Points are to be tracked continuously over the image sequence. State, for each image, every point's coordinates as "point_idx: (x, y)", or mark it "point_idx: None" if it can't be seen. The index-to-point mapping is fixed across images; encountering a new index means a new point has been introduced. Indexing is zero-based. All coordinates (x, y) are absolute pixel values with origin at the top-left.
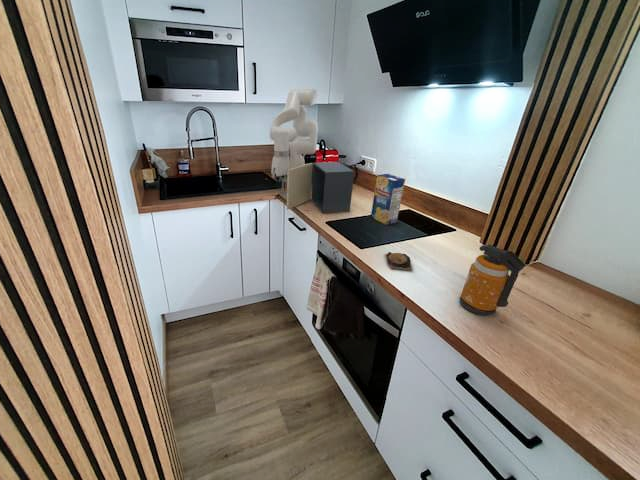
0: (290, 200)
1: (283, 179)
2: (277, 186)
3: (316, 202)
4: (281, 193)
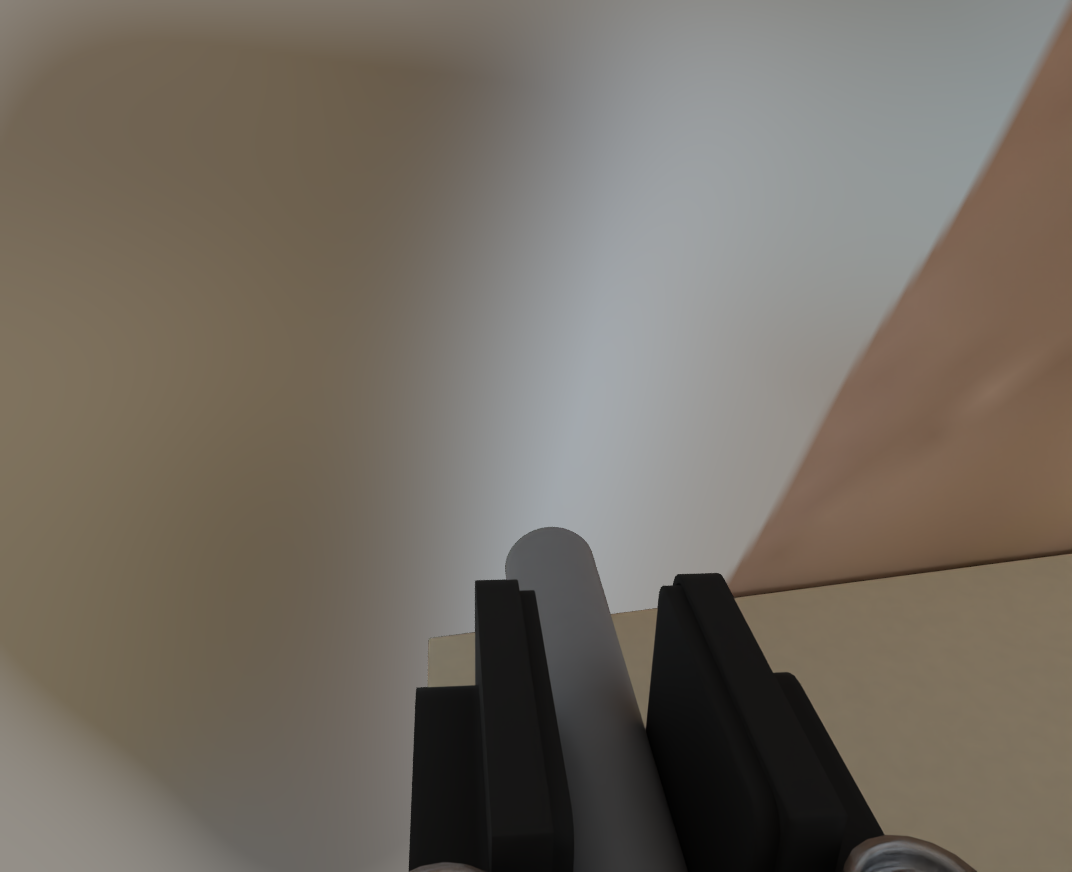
0: None
1: None
2: (418, 690)
3: None
4: None
